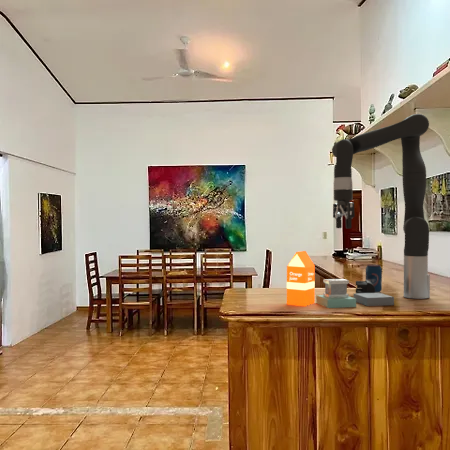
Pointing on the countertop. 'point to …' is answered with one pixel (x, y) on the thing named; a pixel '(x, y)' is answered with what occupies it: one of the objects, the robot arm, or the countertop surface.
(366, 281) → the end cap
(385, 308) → the countertop surface
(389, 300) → the stand
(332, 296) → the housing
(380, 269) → the soda can
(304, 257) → the orange juice
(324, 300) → the stand
